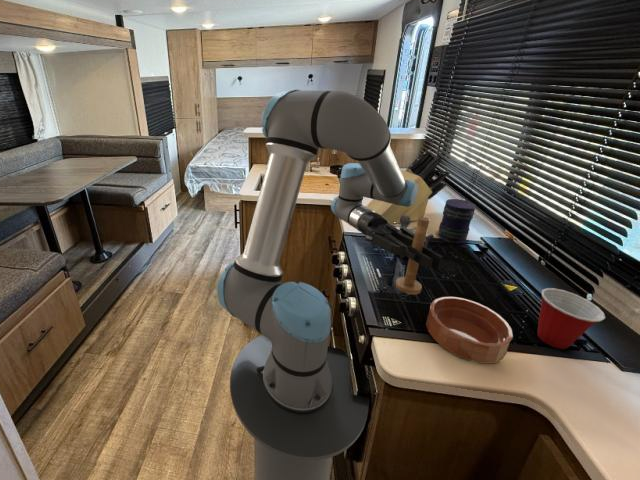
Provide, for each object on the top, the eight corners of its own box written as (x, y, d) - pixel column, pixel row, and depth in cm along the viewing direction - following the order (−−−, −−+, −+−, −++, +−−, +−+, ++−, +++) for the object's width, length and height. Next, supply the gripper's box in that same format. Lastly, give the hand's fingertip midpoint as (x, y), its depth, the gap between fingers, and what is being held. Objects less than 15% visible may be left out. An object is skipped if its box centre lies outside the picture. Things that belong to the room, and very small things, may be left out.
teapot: (437, 261, 109) (443, 237, 105) (391, 258, 112) (395, 234, 108) (418, 236, 126) (423, 214, 123) (378, 234, 129) (382, 212, 125)
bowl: (434, 355, 73) (440, 336, 71) (419, 308, 88) (423, 292, 85) (518, 373, 68) (527, 353, 66) (488, 320, 83) (494, 303, 81)
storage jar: (450, 244, 120) (460, 209, 114) (431, 233, 129) (439, 200, 123) (472, 241, 122) (482, 207, 116) (452, 230, 130) (460, 197, 125)
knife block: (441, 218, 142) (457, 152, 130) (374, 227, 135) (385, 158, 123) (422, 208, 152) (436, 147, 140) (359, 217, 145) (368, 152, 133)
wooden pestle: (397, 292, 80) (412, 222, 72) (394, 278, 85) (407, 212, 77) (423, 296, 78) (441, 225, 70) (418, 282, 83) (434, 215, 76)
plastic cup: (592, 366, 69) (616, 325, 65) (529, 346, 75) (547, 307, 70) (576, 334, 78) (596, 296, 73) (521, 318, 83) (536, 282, 79)
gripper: (387, 229, 97) (456, 270, 76) (345, 237, 92) (406, 282, 72) (391, 207, 94) (463, 243, 73) (348, 214, 90) (412, 255, 69)
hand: (435, 262), depth 72 cm, fingers closed on wooden pestle, 2 cm apart
